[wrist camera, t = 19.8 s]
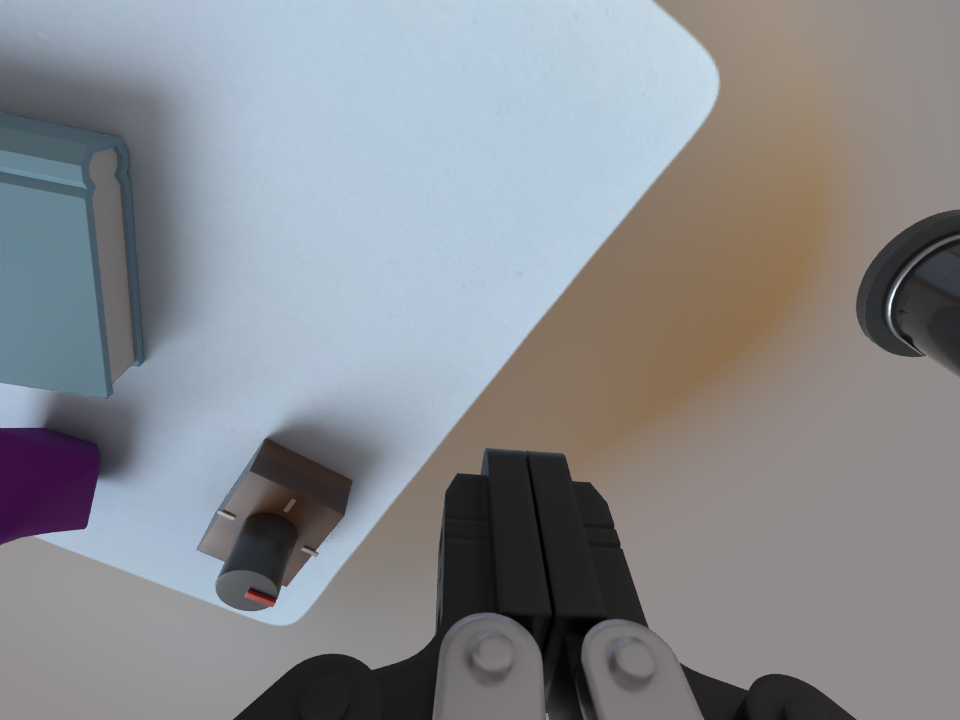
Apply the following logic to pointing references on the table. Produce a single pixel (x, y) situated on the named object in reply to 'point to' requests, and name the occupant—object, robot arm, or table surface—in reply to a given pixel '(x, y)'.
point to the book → (66, 259)
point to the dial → (257, 563)
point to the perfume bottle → (45, 482)
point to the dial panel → (281, 503)
